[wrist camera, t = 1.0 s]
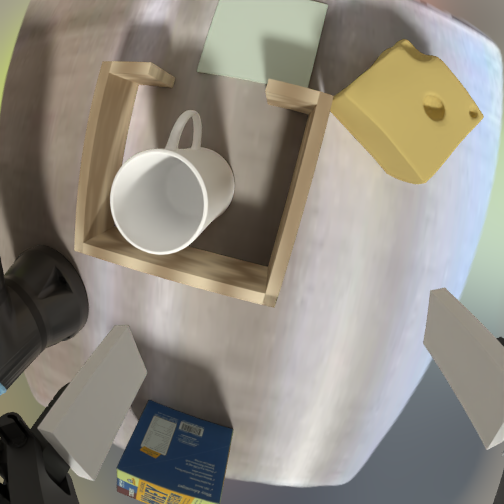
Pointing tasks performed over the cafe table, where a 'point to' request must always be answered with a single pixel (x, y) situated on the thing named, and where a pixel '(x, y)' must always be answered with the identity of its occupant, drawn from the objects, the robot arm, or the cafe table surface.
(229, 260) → the frame
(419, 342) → the cafe table surface
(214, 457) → the protein box
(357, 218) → the cafe table surface
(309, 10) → the mat
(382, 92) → the cheese
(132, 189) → the mug
